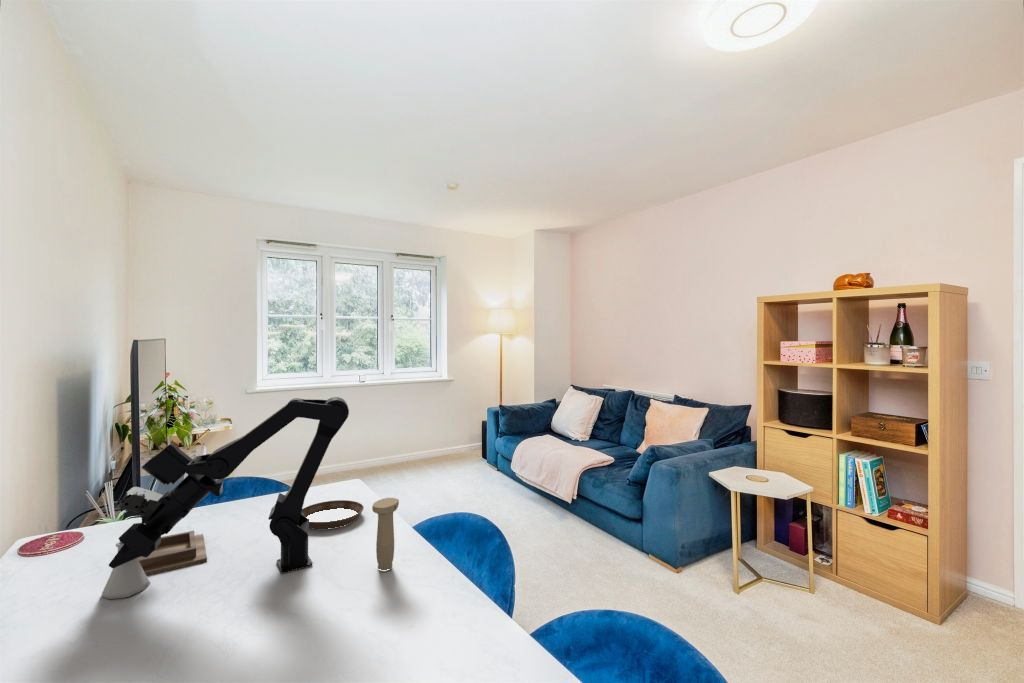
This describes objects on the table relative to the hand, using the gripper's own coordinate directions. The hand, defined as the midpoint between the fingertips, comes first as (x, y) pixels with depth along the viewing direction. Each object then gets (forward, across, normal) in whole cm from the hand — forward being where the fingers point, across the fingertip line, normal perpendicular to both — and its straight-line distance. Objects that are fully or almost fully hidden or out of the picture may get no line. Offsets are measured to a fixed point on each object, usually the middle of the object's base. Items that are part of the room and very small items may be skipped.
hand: (118, 559), depth 93 cm
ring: (-24, -25, +34) cm, 48 cm away
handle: (-32, +9, +41) cm, 53 cm away
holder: (+2, -14, +7) cm, 16 cm away
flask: (+4, 0, +6) cm, 7 cm away
